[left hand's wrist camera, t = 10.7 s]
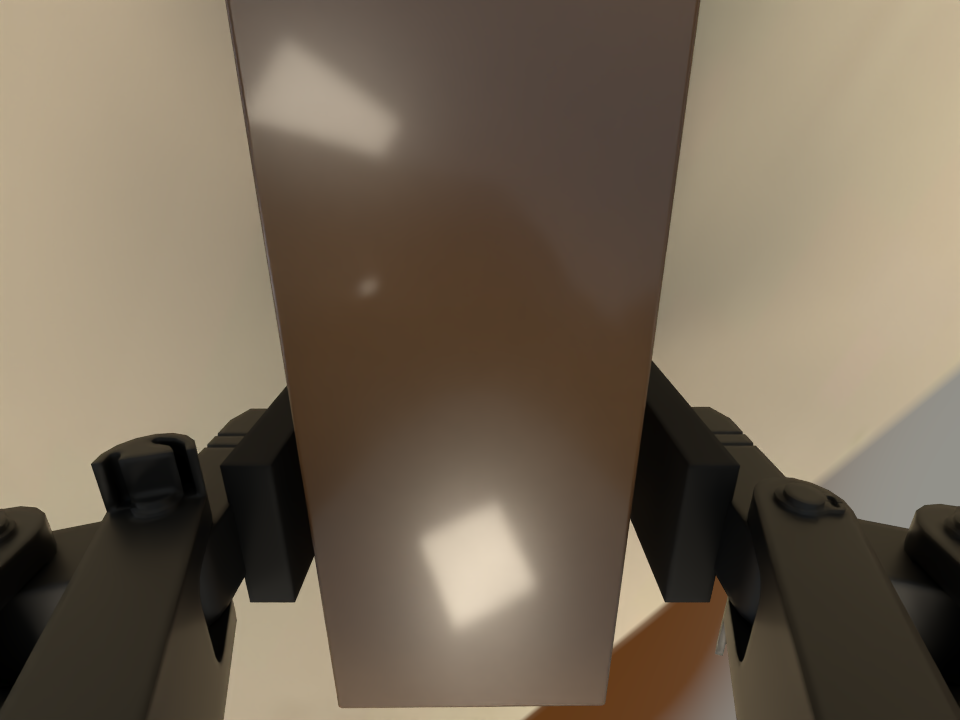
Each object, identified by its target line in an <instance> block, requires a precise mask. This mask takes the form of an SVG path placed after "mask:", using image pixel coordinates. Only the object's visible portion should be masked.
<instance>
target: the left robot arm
mask: <svg viewBox="0 0 960 720" xmlns="http://www.w3.org/2000/svg"><path fill="white" fill-rule="evenodd" d="M91 466H92V469H93V472H94V475H95V478H96V481H97V484H98V487H99V490H100V493H101V496H102V499H103V502H104V505H105V508H106V511H107V513H106V515H105V516H104V518H103V520H102V521H101V522H96V523H91V524H86V525H81V526H76V527H71V528H65V529H60V530H55V531H52V530H51V528H50V525H49V523H48V520H47V518H46V515H45V513H44V512H42V511H41V510H39V509H38V508H35V507H23V506H20V507H13V508H6V509H0V720H224V712H225V705H226V697H227V690H228V682H229V675H230V667H231V659H232V652H233V644H234V637H235V629H236V622H237V619H236V612H235V607H234V603H233V599H232V598H233V597H234V595H235V593H236V591H237V589H238V588H239V586H240V584H241V582H242V580H243V579H244V577H245V581H246V585H247V590H248V594H249V599H250V602H295V601H296V599H297V596H298V594H299V591H300V589H301V586H302V584H303V582H304V579H305V577H306V574H307V572H308V570H309V567H310V565H311V562H312V560H313V558H314V549H313V543H312V537H311V531H310V525H309V518H308V512H307V506H306V500H305V493H304V487H303V481H302V475H301V468H300V462H299V456H298V450H297V444H296V437H295V431H294V425H293V419H292V412H291V406H290V400H289V394H288V387H287V386H286V387H285V388H284V390H283V391H282V392H281V393H280V394H279V396H278V397H277V398H276V399H275V400H274V402H273V403H272V404H271V405H270V406H269V408H268V409H249V410H248V411H246V412H244V413H242V414H241V415H239V416H237V417H235V418H233V419H232V420H230V421H229V422H228V423H227V424H226V425H225V427H224V428H223V429H222V430H221V431H220V432H219V433H218V436H215V437H214V438H213V439H212V440H211V441H210V442H209V443H208V445H207V448H204V449H203V450H202V451H201V452H200V453H199V454H198V453H197V449H196V445H195V441H194V440H193V439H191V438H190V437H189V436H187V435H182V434H176V433H165V434H154V435H149V436H144V437H140V438H136V439H133V440H130V441H127V442H125V443H122V444H119V445H117V446H115V447H113V448H111V449H110V450H108V451H106V452H104V453H103V454H101V455H100V456H99V457H98V458H97V459H96V460H95V461H94V462H93V463H92V464H91ZM630 519H631V521H632V524H633V526H634V529H635V531H636V533H637V536H638V538H639V541H640V543H641V545H642V548H643V550H644V553H645V555H646V558H647V560H648V562H649V565H650V567H651V570H652V572H653V574H654V577H655V579H656V582H657V584H658V586H659V589H660V591H661V594H662V596H663V598H664V601H665V602H710V599H711V594H712V590H713V585H714V581H715V576H717V578H718V579H719V581H720V583H721V585H722V587H723V588H724V590H725V592H726V594H727V595H728V599H727V603H726V607H725V611H724V616H723V620H722V624H721V628H720V632H719V636H718V641H717V646H716V652H715V653H716V654H718V655H723V652H724V648H725V644H727V651H728V658H729V665H730V673H731V681H732V688H733V696H734V703H735V711H736V718H737V720H960V506H950V505H944V504H933V505H924V506H923V507H921V508H920V509H918V510H917V511H916V513H915V515H914V518H913V520H912V523H911V525H910V528H909V529H907V528H902V527H897V526H891V525H886V524H881V523H876V522H871V521H865V520H861V519H857V517H856V516H855V514H854V512H853V510H852V509H851V508H850V507H849V506H848V505H847V503H846V502H845V501H844V500H843V499H841V498H840V497H838V496H837V495H835V494H834V493H832V492H831V491H829V490H827V489H825V488H822V487H820V486H818V485H815V484H813V483H810V482H807V481H803V480H799V479H795V478H786V477H785V476H784V475H783V474H782V473H781V472H780V471H779V469H778V468H777V467H776V466H775V465H774V464H773V463H772V462H771V461H770V460H769V459H768V458H767V457H766V456H765V455H764V454H763V453H762V452H761V451H760V450H759V448H758V447H757V446H753V442H752V441H751V440H750V439H749V438H748V437H747V436H746V435H745V434H743V432H742V431H741V430H740V429H739V427H738V426H737V425H736V424H735V423H734V422H733V421H732V420H731V419H730V418H728V417H726V416H725V415H723V414H721V413H719V412H718V411H716V410H714V409H712V408H710V407H691V406H690V405H689V404H688V403H687V402H686V400H685V399H684V398H683V397H682V396H681V394H680V393H679V392H678V391H677V390H676V388H675V387H674V386H673V385H672V384H671V383H670V381H669V380H668V379H667V378H666V377H665V375H664V374H663V373H662V372H661V371H660V369H659V368H658V367H657V366H656V365H655V363H654V362H653V361H651V368H650V376H649V383H648V391H647V398H646V405H645V413H644V420H643V427H642V435H641V442H640V450H639V457H638V464H637V472H636V479H635V486H634V494H633V501H632V509H631V516H630Z"/></svg>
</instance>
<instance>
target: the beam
mask: <svg viewBox="0 0 960 720" xmlns="http://www.w3.org/2000/svg"><path fill="white" fill-rule="evenodd" d="M225 1H226V7H227V14H228V20H229V26H230V32H231V39H232V45H233V51H234V57H235V63H236V70H237V76H238V82H239V88H240V95H241V101H242V107H243V113H244V120H245V126H246V132H247V138H248V144H249V151H250V157H251V163H252V169H253V176H254V182H255V188H256V194H257V201H258V207H259V213H260V219H261V225H262V232H263V238H264V244H265V250H266V257H267V263H268V269H269V275H270V282H271V288H272V294H273V300H274V306H275V313H276V319H277V325H278V331H279V338H280V344H281V350H282V356H283V363H284V369H285V375H286V381H287V387H288V394H289V400H290V406H291V412H292V419H293V425H294V431H295V437H296V444H297V450H298V456H299V462H300V468H301V475H302V481H303V487H304V493H305V500H306V506H307V512H308V518H309V525H310V531H311V537H312V543H313V549H314V556H315V562H316V568H317V574H318V581H319V587H320V593H321V599H322V606H323V612H324V618H325V624H326V630H327V637H328V643H329V649H330V655H331V662H332V668H333V674H334V680H335V687H336V693H337V699H338V705H339V707H340V708H403V707H497V706H590V705H604V704H605V700H606V693H607V685H608V678H609V671H610V663H611V656H612V649H613V641H614V634H615V626H616V619H617V612H618V604H619V597H620V590H621V582H622V575H623V567H624V560H625V553H626V545H627V538H628V531H629V523H630V516H631V509H632V501H633V494H634V486H635V479H636V472H637V464H638V457H639V450H640V442H641V435H642V427H643V420H644V413H645V405H646V398H647V391H648V383H649V376H650V368H651V361H652V354H653V346H654V339H655V332H656V324H657V317H658V310H659V302H660V295H661V287H662V280H663V273H664V265H665V258H666V251H667V243H668V236H669V228H670V221H671V214H672V206H673V199H674V192H675V184H676V177H677V169H678V162H679V155H680V147H681V140H682V133H683V125H684V118H685V111H686V103H687V96H688V88H689V81H690V74H691V66H692V59H693V52H694V44H695V37H696V29H697V22H698V15H699V7H700V0H225Z"/></svg>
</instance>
